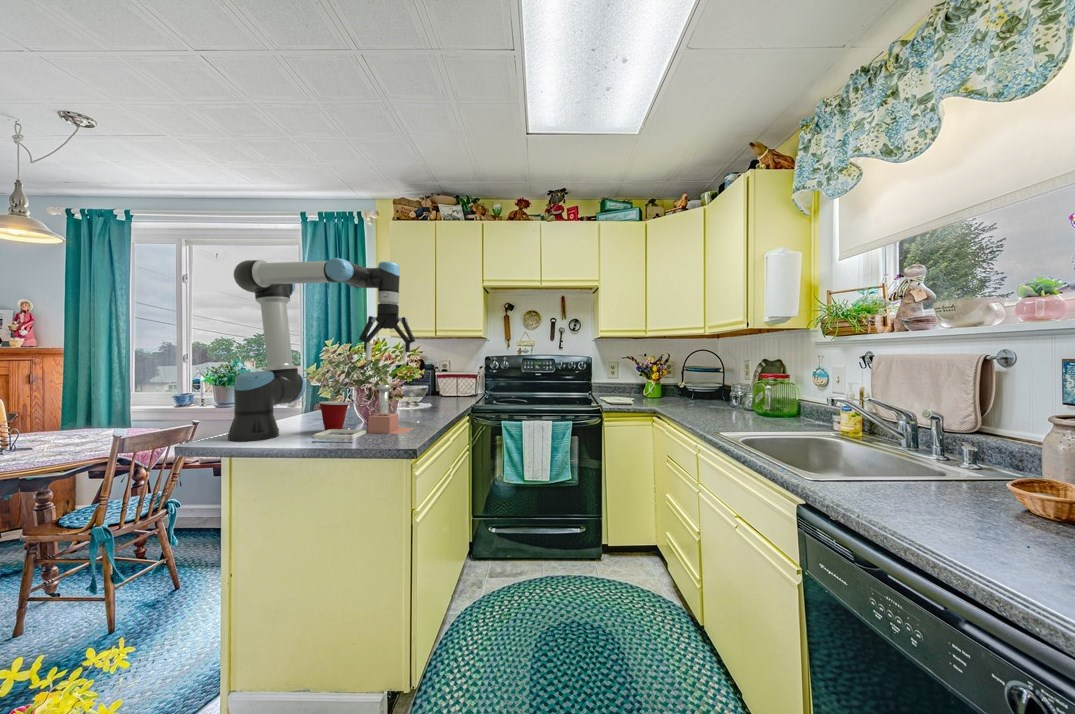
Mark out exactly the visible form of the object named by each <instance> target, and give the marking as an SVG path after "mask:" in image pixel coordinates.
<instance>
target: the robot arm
mask: <svg viewBox="0 0 1075 714" xmlns="http://www.w3.org/2000/svg"><path fill="white" fill-rule="evenodd" d="M400 274H401V273H400V265H399V264H398V263H396V262H393V261H380V262H379V263H378V266H377V267H364V266H362V265H359V264H357V263H354V262H351V261H349V260H346V259H344V258H340V257H332V258H331V259H329V260H321V261H320V260H318V261H315V260H314V261H313V260H311V261H290V262H289V261H288V262H287V261H286V262H285V261H284V262H267V261H266V260H263V259H254V260H253V259H251V260H250V259H249V260H247V259H246V260H243V261H241V262H239V263H238V264H237V265H236V266H235V267H234V270H233V279H234V281H235V283H236V284H237V286H238V287H239V288H241V289H242V290H245V291H246V292H248V293H249V292H250V293H254V298H255V299H254V300H255V301H256V302H257V303H258V304H259V305H260V309H261V320H262V329H263V336H264V337H263V339H264V347H265V348H264V349H265V355H266V356H265V357H266V358H265V359H266V367H265V368H264V369H263V370H259V371H258V370H256V371H249V372H242V373H240V374H237V375H236V376H235V378H234V385H233V389H234V390H233V391H234V395H233V397H234V401H233V403H234V404H233V405H234V409H233V410H234V412H233V413H234V416H233V420H232V422H231V425H230V428H229V431H228V433H227V440H229V441H234V442H248V441H249V442H250V441H259V440H260V441H263V440H268V439H274V438H276V437H278V436H279V435H280V434H279V433H280V432H279V431H280V430H279V429H280V428H279V426H278V424H277V421H276V419H275V418H276V417H275V416H274V406H277V405H284V404H290V403H294V402H296V401H299V400H300V399H301V398H302V396H304V393H305V392H306V388H307V383H306V380H305V378H304V377H303V376H302V375H301V374H300V373H299V371H298V367H297V365H295V364H294V363H293V354H292V345H291V335H290V327H289V326H290V325H289V317H288V308H287V307H288V306H287V304H288V303H290V301H291V296H292V295H293V294H294V292H295V289H296V284H298V285H299V284H317V283H318V284H326V283H328V284H329V283H330V284H331V283H332V284H333V283H337V284H338V283H344V284H347V285H348V287H349V288H354V289H377V302H378V304H377V308H376V309H377V310H376V311H377V315H376V317H375V316H371V315H369V316H367V317H368V319H367V323H366V325H365V327H364V329H362V330H363V331H361V334H360V336H359V341H361V342H363V344H364V345H363V350H364V351H365V352H366V357H365V360H366V361H371V360H372V345H373V344H372V339H373V338H374V337H375V336H376V335H377V334H378V333H379V332H380V330H382V329H384V330H385V329H386V330H387V329H388V330H389V329H390V330H393V329H394V330H395V331H396V333H397V335H399V336H400V338H401V339H402V340H403V341H404V343H403V345H402V362H408V353H410V351H411V344H413V343H415V342H416V338H415V337H414V335H413V332H412V330H411V329H410V328H411V327H410V325H409V323H408V317H405V316H402V317H399V313H400V311H399V310H400V309H399V308H400V306H399V305H398V304H400V276H401V275H400ZM375 322H377V324H376V325H375V326H374V328H373V329H372V327H373V325H374V323H375ZM399 322H400V323H401V324H402V327H403V329H404V331H405V333H406V334H405V333H404V331H403V330H402V329H401V327H400V326H399V325H398V324H399ZM371 329H372V330H371ZM370 331H371V332H370Z"/></svg>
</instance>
